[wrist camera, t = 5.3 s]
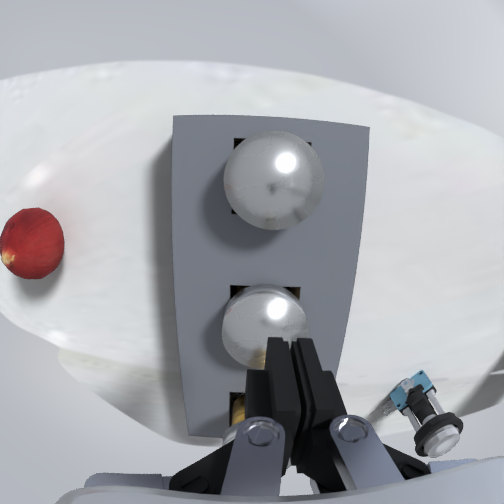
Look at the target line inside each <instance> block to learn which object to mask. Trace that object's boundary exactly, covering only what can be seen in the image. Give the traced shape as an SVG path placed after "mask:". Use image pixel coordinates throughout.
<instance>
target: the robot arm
mask: <svg viewBox="0 0 504 504" xmlns="http://www.w3.org/2000/svg"><path fill="white" fill-rule="evenodd" d="M289 458H290V462H291V465H292V466H295V465H296V468H297V473H304V474H305V475H306V476H308V477H310V485H311V488H312V490H313V493H314V494H313V495H298V496H279V493H280V484H281V477H282V476H284V475H285V472H286V469H287V466H288V462H289ZM55 504H504V456H497V457H490V458H485V459H481V460H476V459H463V460H450V461H436V462H429V463H428V464H427V465H426V464H425V463H423V462H422V461H420V460H418V459H416V458H413V457H411V456H409V455H407V454H404V453H402V452H400V451H398V450H396V449H393V448H391V447H389V446H387V445H385V444H383V443H382V442H381V440H380V439H379V437H378V436H377V434H376V432H375V431H374V429H373V427H372V426H371V425H370V423H369V422H368V421H366V420H365V419H363V418H362V417H359V416H356V415H347V412H346V409H345V406H344V403H343V400H342V398H341V395H340V392H339V389H338V386H337V383H336V381H335V378H334V375H333V373H332V371H330V370H328V371H323V370H322V367H321V364H320V361H319V358H318V355H317V352H316V349H315V346H314V342H313V340H312V338H297V340H296V341H292V342H291V347H290V348H289V343H288V341H283V337H268V340H267V348H266V357H265V365H264V370H256V369H247V374H246V386H245V419H244V421H243V422H242V423H241V424H240V425H239V427H238V429H237V432H236V436H235V439H234V440H232V441H230V442H229V443H227V444H226V445H224V446H222V447H221V448H219V449H217V450H216V451H214V452H213V453H211V454H209V455H208V456H206V457H204V458H202V459H201V460H199V461H197V462H195V463H194V464H192V465H190V466H188V467H187V468H185V469H183V470H181V471H179V472H178V473H176V474H175V475H174V476H165V477H162V475H161V474H119V473H96V474H94V475H92V476H90V477H89V478H88V479H87V480H86V482H85V485H84V488H79V489H76V490H73V491H70V492H68V493H66V494H65V495H63V496H62V497H61V498H60V499H59V500H58V501H57V502H56V503H55Z"/></svg>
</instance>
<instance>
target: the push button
mask: <svg viewBox="0 0 504 504" xmlns="http://www.w3.org/2000/svg"><path fill="white" fill-rule="evenodd" d="M435 394H436V389H435V387H434V386H433V384H432V383H431V381H430V380H429V378H428V377H427V376H426V374H425V373H424V371H423V370H421V371H419V372H418V373H417V374H416V375H414V376H413V377H412V378H411V379H409V378H406V379H405V380H404V381H402V382H401V386H400V387H398V388H397V389H396V390H394V391H393V392H392V393H391V394H390V397H391V400H389V401H388V403H386V404H385V405H383V406H382V407H381V409H382V410H385V409H387V408H388V407H390V406H391V408H389V409H388V410H386V411H385V412H383V413H384V414H385V415H388V414H389V413H391V412H392V411H395V410H397V409H398V410H399V411H400V412H401V413H402V415H404V416H408V418H409V420H410V422H411V424H412V425H413V427H414V429H415V431H416V434H415V436H414V441H415V444H416V446H415V451H416V453H417V455H419V456H422V457H426V456H429V457H430V458H436V457H438V456H442V455H443V454H445V453H447V452H448V451H450V450H451V449H452V448H453V447H454V446H455V445H456V443H458V441H459V439H460V433H461V432H462V429H463V422H462V421H461V419H459V418H457V417H456V416H455V414H453V413H451V412H448V413H445V411H444V410H443V408H442V407H441V405H440V404H439V402H438V401H437V399H436V398H435ZM428 399H430V401H431V402H432V404H433V405H434V407H435V409H436V410H437V412H438V413H439V415H437V414H436V412H435V411H434V408H433V406H432V405H431V403H430V402H429V400H428ZM385 406H387V407H386V408H384V407H385ZM387 411H390V412H388V413H387ZM412 411H413V412H412ZM413 413H414V414H413ZM414 415H415V416H416V417H417V418H418V420H419V422H420V423H421V425H422V426H421V427H420V425H419V423H418V421H417V419H416V418H415V416H414Z"/></svg>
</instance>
